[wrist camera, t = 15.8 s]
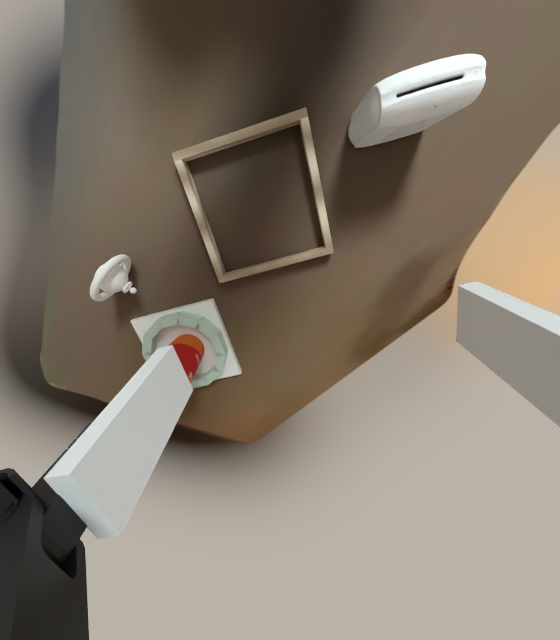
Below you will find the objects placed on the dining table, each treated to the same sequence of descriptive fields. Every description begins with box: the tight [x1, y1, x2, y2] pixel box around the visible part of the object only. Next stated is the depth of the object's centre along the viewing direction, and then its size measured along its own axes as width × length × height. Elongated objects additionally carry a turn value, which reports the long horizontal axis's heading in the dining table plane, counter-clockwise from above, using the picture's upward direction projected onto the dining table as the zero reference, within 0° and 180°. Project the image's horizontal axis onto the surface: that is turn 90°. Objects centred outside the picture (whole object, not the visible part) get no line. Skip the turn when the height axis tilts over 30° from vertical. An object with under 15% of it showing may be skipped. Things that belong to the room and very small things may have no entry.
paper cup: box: [168, 334, 204, 384], centre depth 41 cm, size 8×8×14 cm
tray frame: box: [171, 107, 334, 283], centre depth 38 cm, size 18×18×2 cm
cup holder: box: [130, 298, 242, 388], centre depth 47 cm, size 15×15×3 cm
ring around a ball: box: [90, 254, 137, 301], centre depth 39 cm, size 8×6×8 cm
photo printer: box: [348, 54, 486, 148], centre depth 29 cm, size 10×4×12 cm, turn 103°
